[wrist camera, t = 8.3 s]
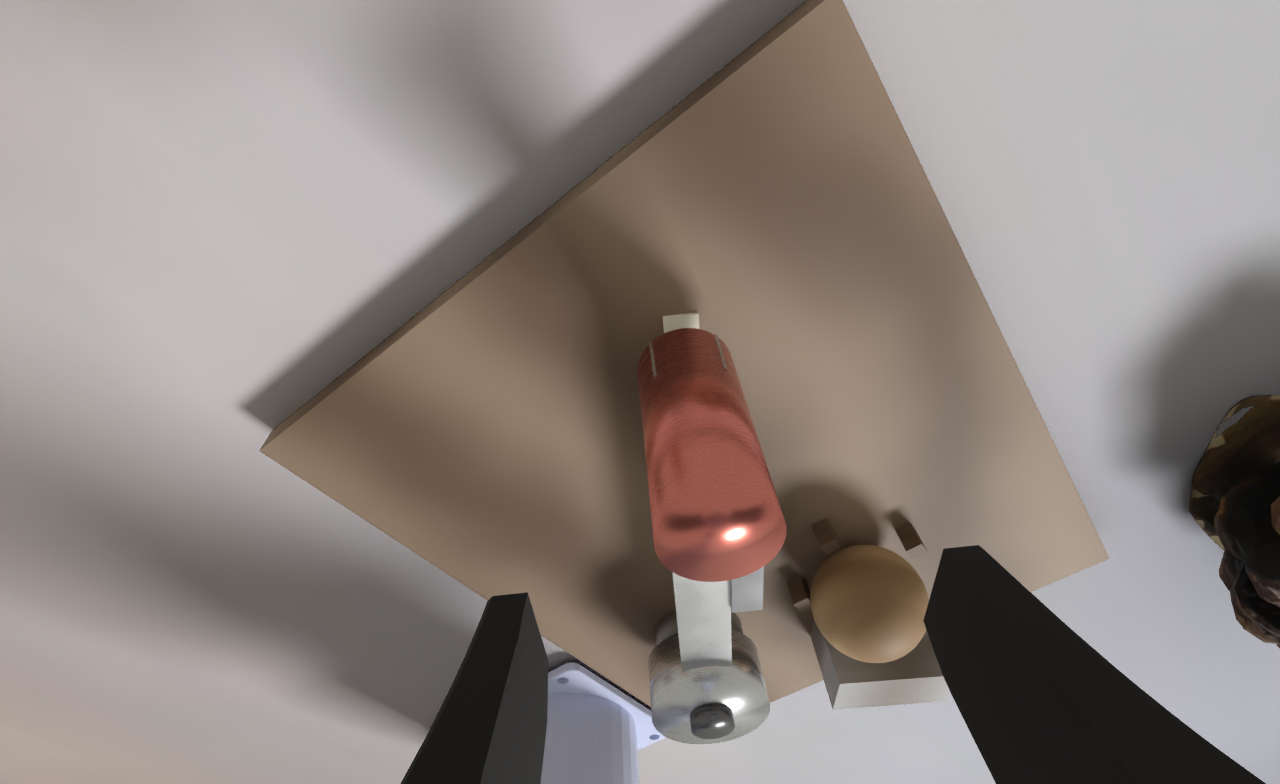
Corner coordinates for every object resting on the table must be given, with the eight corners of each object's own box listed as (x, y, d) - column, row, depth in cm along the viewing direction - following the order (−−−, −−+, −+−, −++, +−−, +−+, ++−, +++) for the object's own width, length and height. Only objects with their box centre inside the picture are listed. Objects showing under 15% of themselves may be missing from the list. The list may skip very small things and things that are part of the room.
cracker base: (691, 715, 32) (702, 806, 29) (272, 430, 21) (208, 529, 17) (1093, 539, 26) (1168, 629, 23) (823, -13, 14) (895, 2, 11)
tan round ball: (827, 603, 26) (860, 699, 23) (778, 554, 24) (807, 651, 21) (919, 561, 25) (968, 655, 22) (875, 505, 23) (922, 600, 20)
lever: (756, 684, 27) (793, 850, 22) (652, 695, 27) (665, 863, 22) (766, 319, 17) (838, 478, 12) (598, 337, 17) (600, 504, 12)
